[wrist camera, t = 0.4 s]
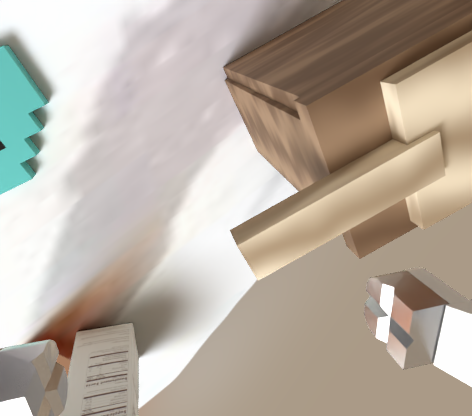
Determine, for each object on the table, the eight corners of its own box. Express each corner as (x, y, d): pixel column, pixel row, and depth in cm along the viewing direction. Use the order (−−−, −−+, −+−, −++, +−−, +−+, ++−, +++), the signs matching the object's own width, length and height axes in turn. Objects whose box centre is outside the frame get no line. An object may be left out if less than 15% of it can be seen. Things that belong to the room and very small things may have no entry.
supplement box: (75, 330, 56) (52, 434, 41) (133, 320, 58) (131, 416, 43) (86, 369, 60) (69, 476, 46) (139, 359, 62) (139, 457, 48)
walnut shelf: (219, 69, 43) (306, 105, 21) (355, -7, 43) (588, -53, 21) (261, 159, 50) (359, 259, 28) (378, 93, 50) (570, 140, 28)
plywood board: (200, 182, 21) (214, 214, 17) (586, -35, 21) (686, -50, 17) (271, 298, 27) (292, 342, 24) (571, 130, 27) (642, 146, 24)
